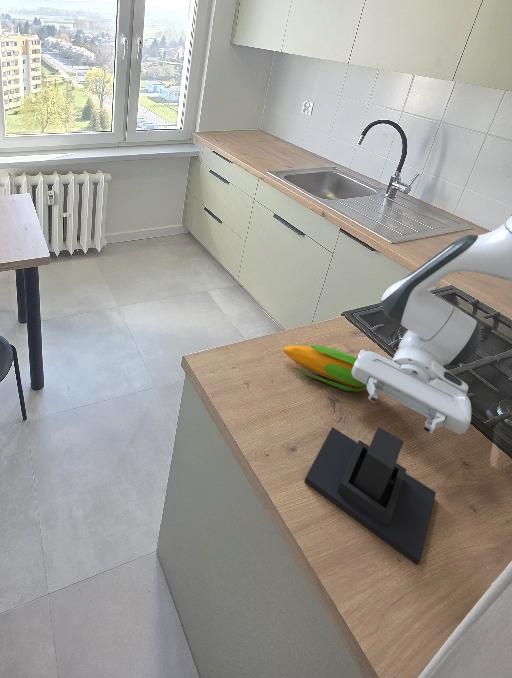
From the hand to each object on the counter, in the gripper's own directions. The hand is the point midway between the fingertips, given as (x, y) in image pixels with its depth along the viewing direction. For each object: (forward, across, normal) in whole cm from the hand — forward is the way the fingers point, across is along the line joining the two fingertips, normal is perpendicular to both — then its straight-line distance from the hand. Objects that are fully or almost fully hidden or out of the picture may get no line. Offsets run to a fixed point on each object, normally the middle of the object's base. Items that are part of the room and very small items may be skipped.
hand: (399, 413), depth 80 cm
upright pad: (+12, 0, +8) cm, 14 cm away
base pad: (+12, 0, +9) cm, 15 cm away
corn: (-9, -15, +10) cm, 20 cm away
